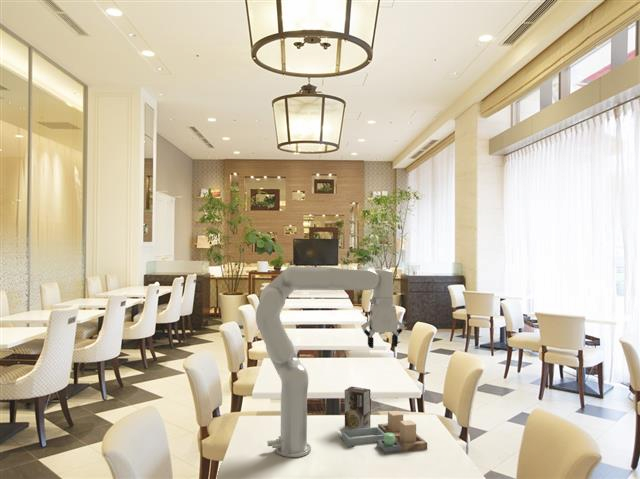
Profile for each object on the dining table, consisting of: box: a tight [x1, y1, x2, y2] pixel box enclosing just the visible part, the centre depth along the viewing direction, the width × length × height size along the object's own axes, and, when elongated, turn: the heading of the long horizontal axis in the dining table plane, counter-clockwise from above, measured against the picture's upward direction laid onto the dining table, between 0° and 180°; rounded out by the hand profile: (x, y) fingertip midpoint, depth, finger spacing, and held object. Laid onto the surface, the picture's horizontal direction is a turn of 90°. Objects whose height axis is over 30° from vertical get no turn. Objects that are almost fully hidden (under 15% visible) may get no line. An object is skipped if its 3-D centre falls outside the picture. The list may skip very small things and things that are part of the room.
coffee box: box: [344, 386, 371, 430], centre depth 199 cm, size 9×6×16 cm
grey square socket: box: [376, 439, 403, 455], centre depth 177 cm, size 7×7×3 cm
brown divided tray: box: [377, 422, 428, 453], centre depth 187 cm, size 10×22×3 cm, turn 16°
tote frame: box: [340, 426, 384, 448], centre depth 187 cm, size 15×9×3 cm, turn 106°
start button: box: [384, 433, 395, 446], centre depth 177 cm, size 4×4×5 cm
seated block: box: [387, 410, 404, 432], centre depth 192 cm, size 4×4×8 cm
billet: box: [400, 419, 417, 443], centre depth 182 cm, size 4×4×8 cm
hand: (382, 346), depth 185 cm, fingers open, 9 cm apart
